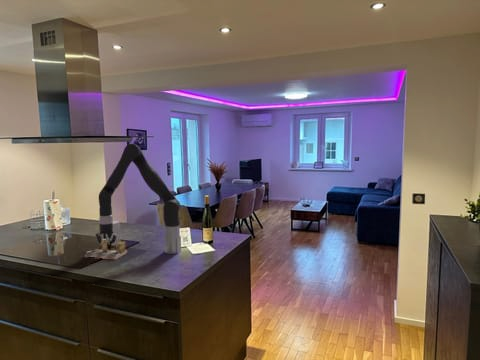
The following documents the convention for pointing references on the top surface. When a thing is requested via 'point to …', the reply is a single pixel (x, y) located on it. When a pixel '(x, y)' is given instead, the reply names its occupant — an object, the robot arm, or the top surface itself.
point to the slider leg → (105, 246)
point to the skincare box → (116, 232)
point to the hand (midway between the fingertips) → (106, 249)
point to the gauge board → (110, 254)
